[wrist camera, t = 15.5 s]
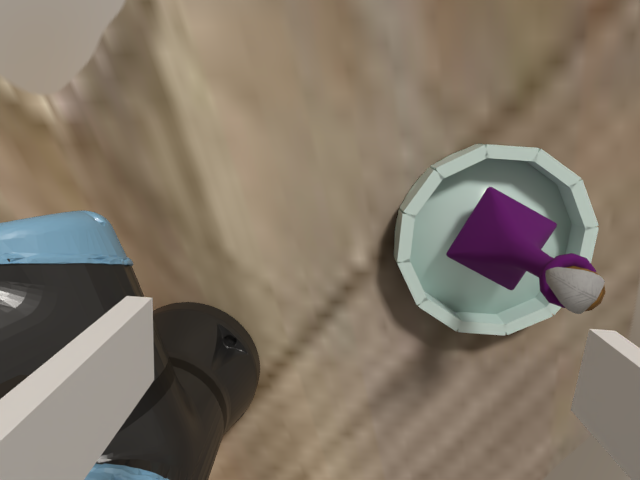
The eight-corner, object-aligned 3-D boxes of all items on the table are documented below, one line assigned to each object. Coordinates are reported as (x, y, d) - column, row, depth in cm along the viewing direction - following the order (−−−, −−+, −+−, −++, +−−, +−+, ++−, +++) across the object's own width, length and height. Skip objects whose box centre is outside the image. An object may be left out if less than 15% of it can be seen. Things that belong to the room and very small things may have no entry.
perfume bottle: (541, 217, 44) (680, 274, 27) (499, 280, 46) (603, 372, 28) (477, 181, 44) (576, 215, 26) (437, 246, 45) (504, 319, 28)
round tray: (385, 313, 48) (389, 327, 45) (404, 138, 44) (411, 139, 40) (556, 325, 48) (573, 340, 45) (592, 151, 44) (615, 153, 40)
